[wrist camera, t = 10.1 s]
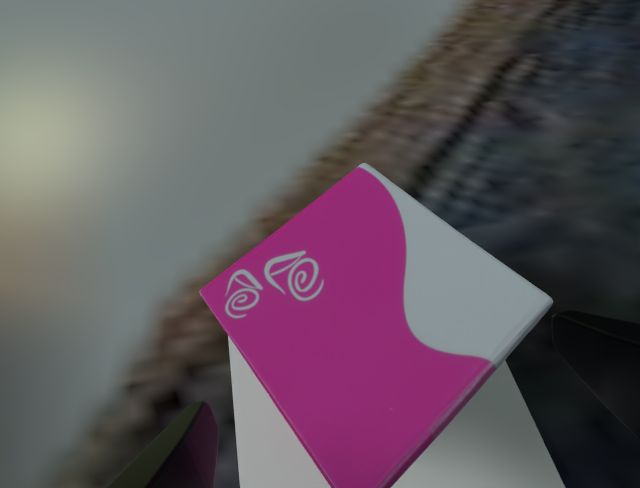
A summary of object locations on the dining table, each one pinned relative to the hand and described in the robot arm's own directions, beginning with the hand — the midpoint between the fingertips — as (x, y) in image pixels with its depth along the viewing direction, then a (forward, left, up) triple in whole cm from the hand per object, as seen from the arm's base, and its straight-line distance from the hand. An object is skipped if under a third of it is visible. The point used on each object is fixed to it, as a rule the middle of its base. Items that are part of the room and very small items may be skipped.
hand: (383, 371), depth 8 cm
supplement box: (+1, 0, -9) cm, 10 cm away
